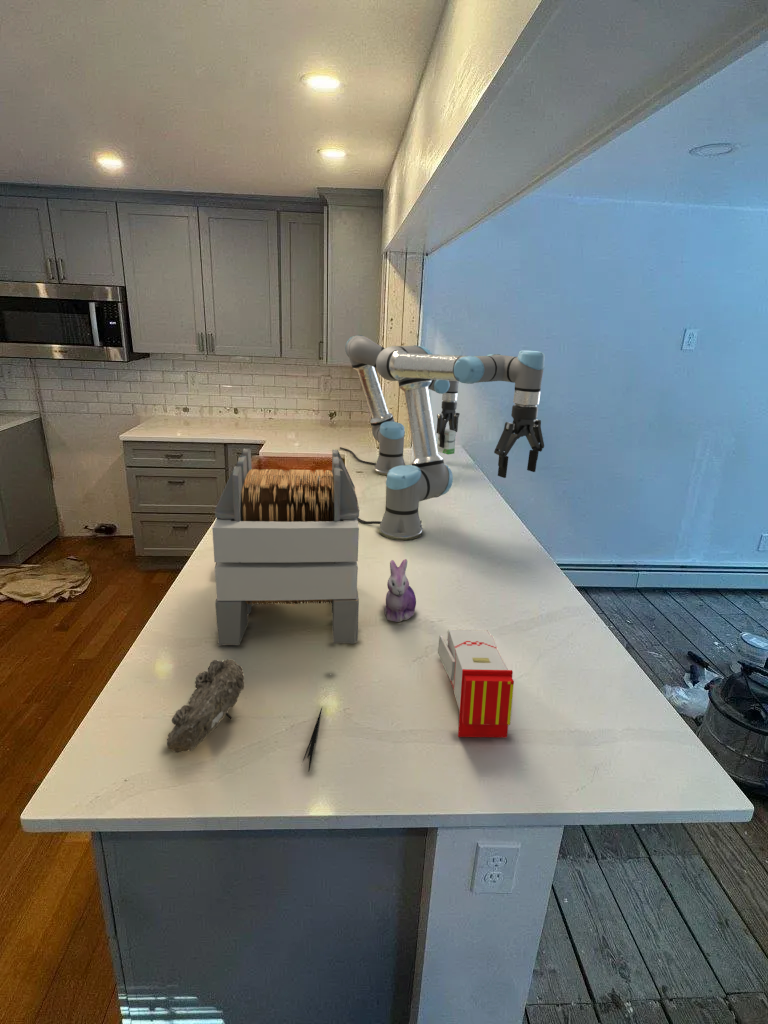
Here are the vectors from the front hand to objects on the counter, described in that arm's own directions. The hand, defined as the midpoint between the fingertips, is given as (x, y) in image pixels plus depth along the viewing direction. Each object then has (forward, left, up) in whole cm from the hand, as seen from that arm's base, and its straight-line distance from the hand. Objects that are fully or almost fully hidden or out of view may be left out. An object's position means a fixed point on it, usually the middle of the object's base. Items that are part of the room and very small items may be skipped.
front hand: (516, 473), depth 175 cm
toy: (+39, -62, -28) cm, 79 cm away
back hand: (-94, +69, -19) cm, 118 cm away
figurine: (+6, -53, -28) cm, 60 cm away
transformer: (-12, -74, -28) cm, 80 cm away
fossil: (+14, -108, -28) cm, 112 cm away
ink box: (-94, +69, -22) cm, 119 cm away
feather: (+27, -92, -28) cm, 100 cm away
